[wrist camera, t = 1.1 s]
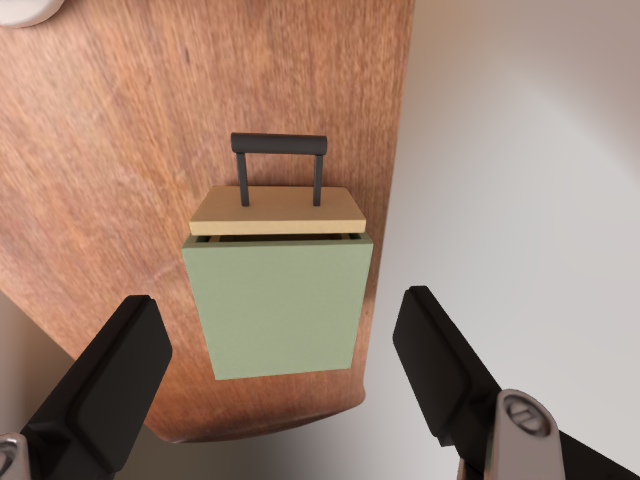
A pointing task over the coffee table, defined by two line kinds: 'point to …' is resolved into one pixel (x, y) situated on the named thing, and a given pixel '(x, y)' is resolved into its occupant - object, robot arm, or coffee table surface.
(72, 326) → the coffee table surface
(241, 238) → the drawer
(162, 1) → the coffee table surface
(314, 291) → the cabinet
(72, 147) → the coffee table surface
